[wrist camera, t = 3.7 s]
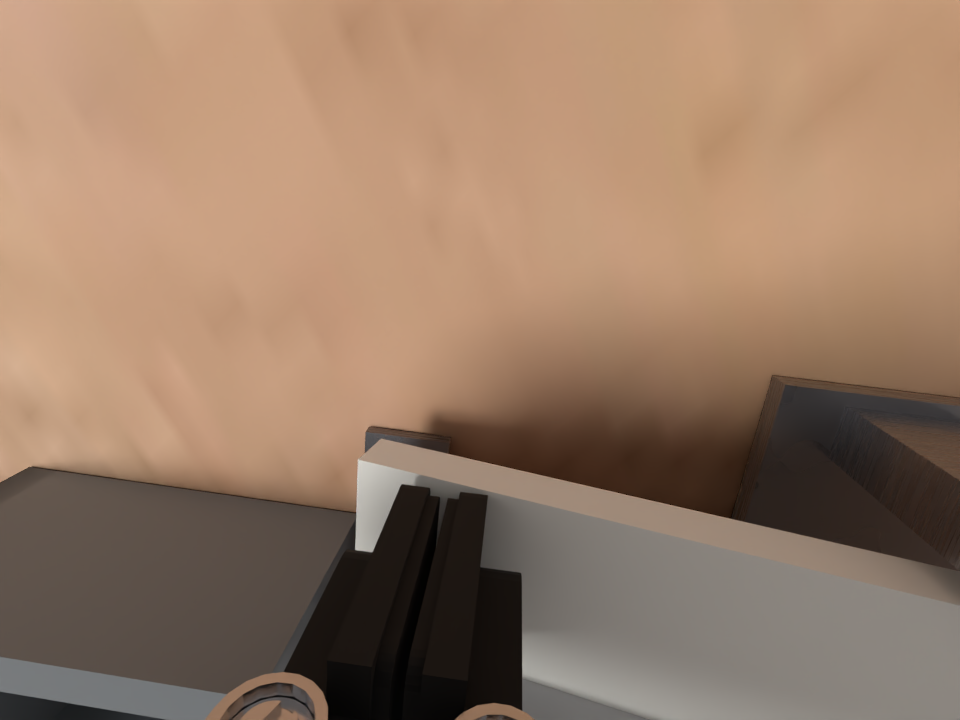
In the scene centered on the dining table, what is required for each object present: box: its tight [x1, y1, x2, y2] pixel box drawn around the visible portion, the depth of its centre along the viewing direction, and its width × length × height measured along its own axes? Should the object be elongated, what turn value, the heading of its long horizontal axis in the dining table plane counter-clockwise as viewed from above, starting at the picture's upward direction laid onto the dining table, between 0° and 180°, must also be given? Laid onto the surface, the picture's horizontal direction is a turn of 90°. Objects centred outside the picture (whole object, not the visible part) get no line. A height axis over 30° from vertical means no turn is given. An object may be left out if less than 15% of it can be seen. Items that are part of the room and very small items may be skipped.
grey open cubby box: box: [0, 467, 356, 720], centre depth 12 cm, size 9×8×5 cm
